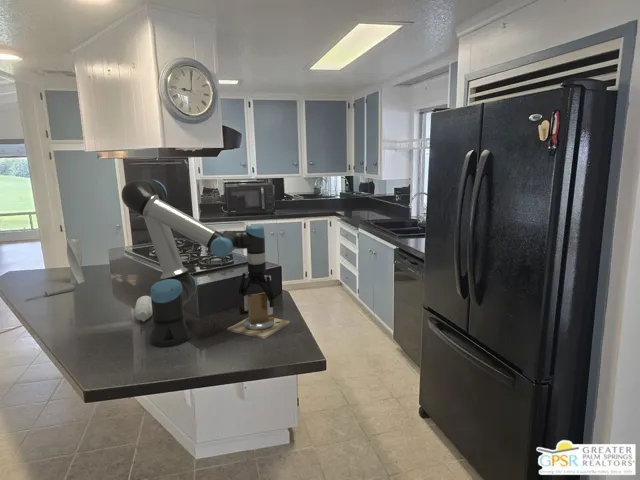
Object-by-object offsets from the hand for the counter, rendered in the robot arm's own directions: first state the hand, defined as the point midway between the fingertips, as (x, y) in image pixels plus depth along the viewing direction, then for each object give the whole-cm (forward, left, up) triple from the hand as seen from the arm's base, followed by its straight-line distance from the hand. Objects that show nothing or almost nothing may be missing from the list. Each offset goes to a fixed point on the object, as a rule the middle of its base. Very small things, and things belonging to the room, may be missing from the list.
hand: (258, 312), depth 183 cm
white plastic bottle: (-54, -14, -7) cm, 56 cm away
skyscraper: (-142, +8, -7) cm, 142 cm away
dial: (0, 0, -5) cm, 5 cm away
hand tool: (-15, +19, -7) cm, 25 cm away
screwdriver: (-130, -15, -7) cm, 131 cm away
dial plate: (0, 0, -7) cm, 7 cm away
